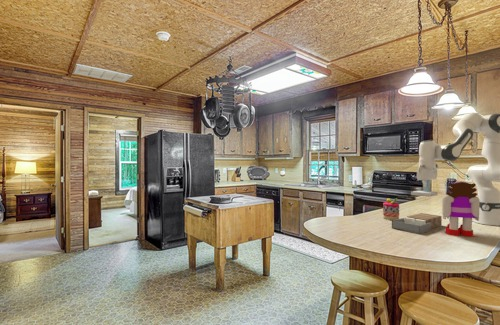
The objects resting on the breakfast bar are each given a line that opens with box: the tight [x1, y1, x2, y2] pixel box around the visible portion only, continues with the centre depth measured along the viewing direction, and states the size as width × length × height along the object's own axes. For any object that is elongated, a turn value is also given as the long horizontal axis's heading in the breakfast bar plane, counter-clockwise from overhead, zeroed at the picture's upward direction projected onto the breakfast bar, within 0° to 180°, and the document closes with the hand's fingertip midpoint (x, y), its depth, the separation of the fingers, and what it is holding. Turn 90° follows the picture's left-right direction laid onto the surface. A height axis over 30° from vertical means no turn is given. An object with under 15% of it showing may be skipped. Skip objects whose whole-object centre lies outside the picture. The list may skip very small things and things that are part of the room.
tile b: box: [404, 216, 415, 225], centre depth 171 cm, size 5×5×2 cm
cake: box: [382, 197, 400, 221], centre depth 197 cm, size 10×11×15 cm
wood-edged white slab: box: [406, 212, 443, 229], centre depth 176 cm, size 20×12×6 cm, turn 125°
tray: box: [391, 217, 432, 235], centre depth 166 cm, size 14×16×5 cm
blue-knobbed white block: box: [410, 180, 438, 198], centre depth 175 cm, size 10×11×9 cm
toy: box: [441, 181, 480, 238], centre depth 155 cm, size 18×9×30 cm, turn 74°
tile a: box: [415, 219, 426, 225], centre depth 166 cm, size 5×5×2 cm
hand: (426, 186), depth 177 cm, fingers closed on blue-knobbed white block, 3 cm apart
